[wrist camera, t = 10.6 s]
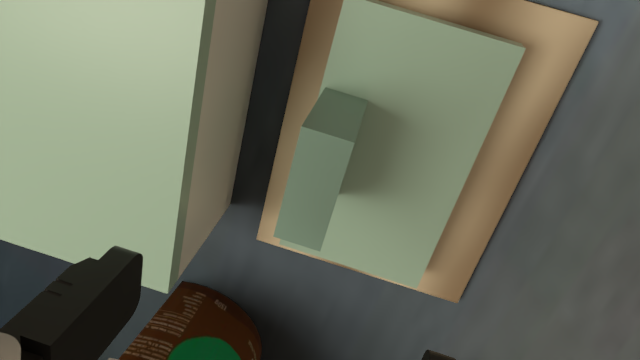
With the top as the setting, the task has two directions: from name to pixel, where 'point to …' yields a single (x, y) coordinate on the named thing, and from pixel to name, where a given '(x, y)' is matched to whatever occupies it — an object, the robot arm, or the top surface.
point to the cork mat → (500, 142)
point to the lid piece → (392, 138)
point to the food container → (197, 329)
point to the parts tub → (123, 124)
